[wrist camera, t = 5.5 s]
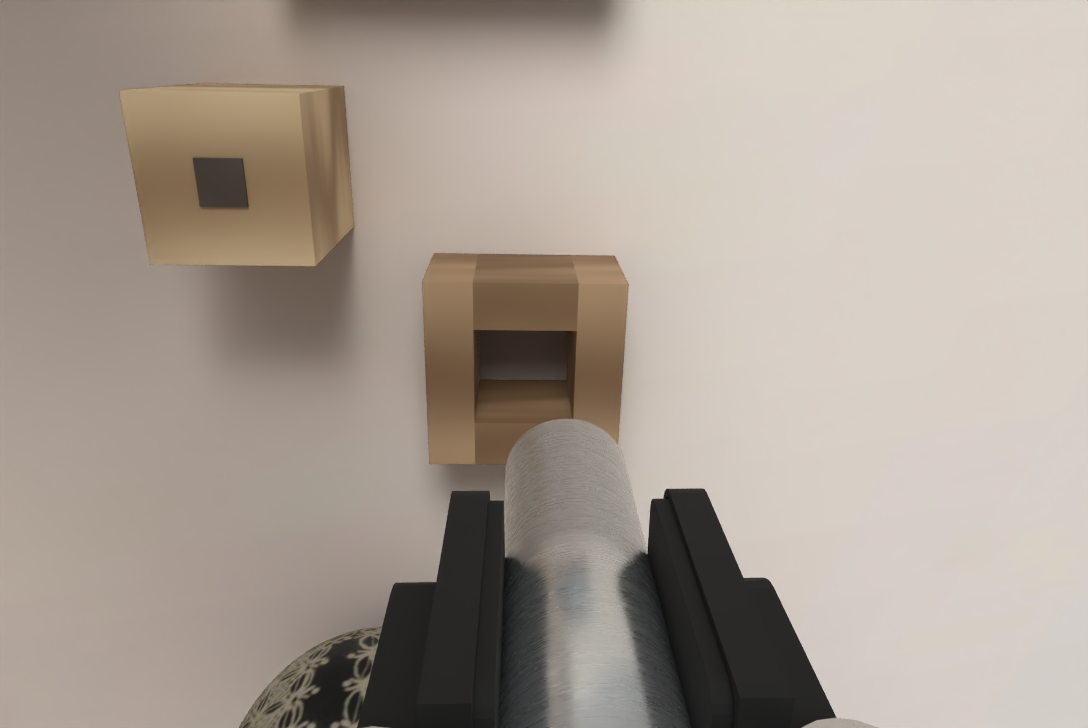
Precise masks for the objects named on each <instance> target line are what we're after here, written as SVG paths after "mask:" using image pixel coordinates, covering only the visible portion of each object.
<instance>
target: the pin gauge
mask: <svg viewBox="0 0 1088 728" xmlns="http://www.w3.org/2000/svg"><path fill="white" fill-rule="evenodd" d="M504 530H505V572H504V600H503V627H502V655H501V682H500V710H499V728H692V726H691V722H690V718H689V715H688V711H687V707H686V703H685V699H684V695H683V691H682V687H681V683H680V679H679V675H678V671H677V668H676V664H675V660H674V656H673V652H672V648H671V644H670V640H669V636H668V632H667V628H666V624H665V621H664V617H663V613H662V609H661V605H660V601H659V597H658V593H657V589H656V585H655V581H654V577H653V574H652V570H651V566H650V562H649V558H648V552H647V548H646V544H645V540H644V536H643V532H642V528H641V524H640V521H639V517H638V513H637V509H636V505H635V501H634V497H633V493H632V489H631V486H630V482H629V478H628V474H627V470H626V466H625V462H624V458H623V455H622V452H621V450H620V448H619V446H618V445H617V443H616V442H615V441H614V439H613V438H612V437H611V436H610V435H609V434H608V433H607V432H605V431H604V430H603V429H601V428H599V427H598V426H596V425H594V424H591V423H589V422H586V421H582V420H577V419H556V420H551V421H548V422H544V423H542V424H539V425H537V426H535V427H533V428H532V429H530V430H529V431H527V432H526V433H525V434H524V435H522V436H521V438H520V439H519V440H518V441H517V442H516V443H515V445H514V446H513V448H512V450H511V452H510V454H509V456H508V459H507V463H506V473H505V495H504Z"/></svg>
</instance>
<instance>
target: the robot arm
mask: <svg viewBox="0 0 1088 728" xmlns="http://www.w3.org/2000/svg"><path fill="white" fill-rule="evenodd" d="M648 558H649V562H650V566H651V570H652V574H653V577H654V581H655V585H656V589H657V593H658V597H659V601H660V605H661V609H662V613H663V617H664V621H665V624H666V628H667V632H668V636H669V640H670V644H671V648H672V652H673V656H674V660H675V664H676V668H677V671H678V675H679V679H680V683H681V687H682V691H683V695H684V699H685V703H686V707H687V711H688V715H689V718H690V722H691V726H692V728H878V727H875V726H872V725H869V724H866V723H863V722H860V721H857V720H850V719H841V718H836V716H835V714H834V712H833V710H832V708H831V705H830V703H829V701H828V699H827V697H826V695H825V693H824V691H823V689H822V687H821V685H820V683H819V680H818V678H817V676H816V674H815V672H814V670H813V668H812V666H811V664H810V662H809V660H808V658H807V656H806V653H805V651H804V649H803V647H802V645H801V643H800V641H799V639H798V637H797V635H796V633H795V631H794V629H793V626H792V624H791V622H790V620H789V618H788V616H787V614H786V612H785V610H784V608H783V606H782V604H781V601H780V599H779V597H778V595H777V593H776V591H775V589H774V587H773V586H772V584H771V582H770V581H769V580H768V579H766V578H743V576H742V574H741V571H740V569H739V567H738V564H737V562H736V560H735V557H734V555H733V553H732V550H731V548H730V546H729V543H728V541H727V539H726V536H725V534H724V532H723V529H722V527H721V525H720V523H719V520H718V518H717V516H716V513H715V511H714V509H713V506H712V504H711V502H710V499H709V497H708V495H707V492H706V491H705V489H666V490H665V493H664V499H652V501H651V507H650V522H649V538H648ZM504 572H505V530H504V501H490V493H489V491H452V493H451V499H450V505H449V510H448V516H447V522H446V528H445V534H444V540H443V546H442V552H441V558H440V564H439V570H438V576H437V582H419V583H395V584H394V585H393V588H392V591H391V594H390V598H389V602H388V606H387V610H386V614H385V618H384V622H383V626H382V630H381V634H380V638H379V642H378V646H377V650H376V654H375V658H374V662H373V666H372V670H371V674H370V678H369V682H368V686H367V690H366V694H365V698H364V702H363V706H362V710H361V714H360V718H359V722H358V726H357V728H499V710H500V682H501V655H502V627H503V600H504Z"/></svg>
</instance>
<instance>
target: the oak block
mask: <svg viewBox="0 0 1088 728" xmlns="http://www.w3.org/2000/svg"><path fill="white" fill-rule="evenodd" d="M119 94H120V100H121V106H122V111H123V117H124V122H125V128H126V134H127V139H128V145H129V150H130V156H131V161H132V167H133V173H134V178H135V184H136V189H137V195H138V200H139V206H140V212H141V217H142V223H143V228H144V234H145V240H146V245H147V251H148V256H149V262H150V264H159V265H252V266H316V265H317V264H318V263H319V262H320V261H321V260H322V259H323V258H324V257H325V256H326V255H327V254H328V253H329V252H330V251H331V250H332V249H333V248H334V246H335V245H336V244H337V243H338V242H339V241H340V240H341V239H342V238H343V237H344V236H345V235H346V234H347V233H348V232H349V231H350V230H351V229H352V228H353V227H354V216H353V202H352V189H351V175H350V162H349V149H348V135H347V122H346V108H345V95H344V86H317V85H265V84H213V83H198V84H187V85H175V86H164V87H152V88H141V89H129V90H119Z"/></svg>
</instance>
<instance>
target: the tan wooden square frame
mask: <svg viewBox="0 0 1088 728" xmlns="http://www.w3.org/2000/svg"><path fill="white" fill-rule="evenodd" d="M628 286H629V284H628V282H627V280H626V278H625V276H624V274H623V272H622V270H621V268H620V266H619V264H618V262H617V260H616V258H615V256H589V255H517V254H445V253H434V255H433V257H432V260H431V262H430V264H429V267H428V269H427V271H426V274H425V276H424V279H423V281H422V292H423V317H424V343H425V368H426V394H427V419H428V445H429V464H506V463H507V459H508V456H509V454H510V452H511V450H512V448H513V446H514V445H515V443H516V442H517V441H518V440H519V439H520V438H521V436H522V435H524V434H525V433H526V432H527V431H529V430H530V429H532V428H533V427H535V426H537V425H539V424H542V423H544V422H548V421H551V420H556V419H577V420H582V421H586V422H589V423H591V424H594V425H596V426H598V427H599V428H601V429H603V430H604V431H605V432H607V433H608V434H609V435H610V436H611V437H612V438H613V439H614V441H615V442H616V443H617V445H618V437H619V422H620V407H621V392H622V377H623V362H624V346H625V331H626V316H627V301H628ZM479 330H528V331H568V356H567V381H564V380H480V371H479Z"/></svg>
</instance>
